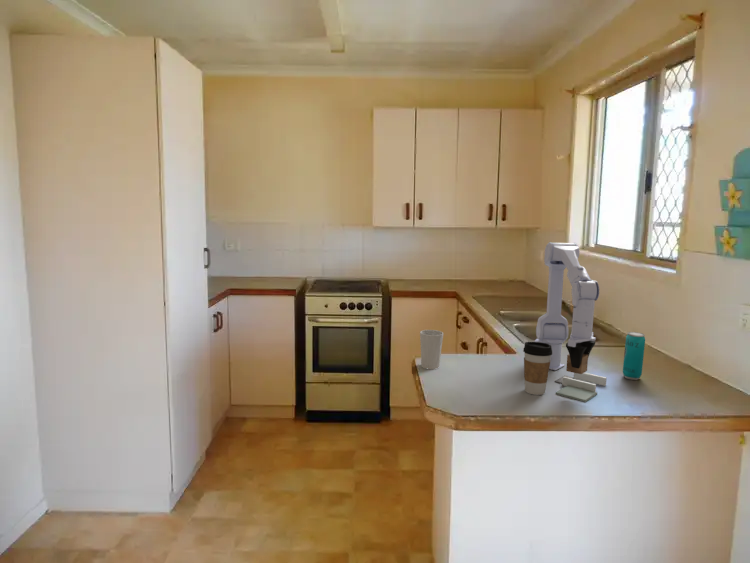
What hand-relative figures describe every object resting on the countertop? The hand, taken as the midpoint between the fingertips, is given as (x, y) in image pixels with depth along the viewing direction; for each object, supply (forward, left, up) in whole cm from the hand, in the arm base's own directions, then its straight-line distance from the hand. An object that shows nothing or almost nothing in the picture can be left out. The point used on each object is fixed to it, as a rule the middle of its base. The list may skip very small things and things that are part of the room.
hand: (578, 365), depth 161 cm
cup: (-47, -10, -9) cm, 49 cm away
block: (0, 0, -2) cm, 2 cm away
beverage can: (+7, +29, -9) cm, 31 cm away
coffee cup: (-10, -7, -9) cm, 15 cm away
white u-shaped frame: (-3, +10, -9) cm, 14 cm away
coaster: (0, 0, -9) cm, 9 cm away
